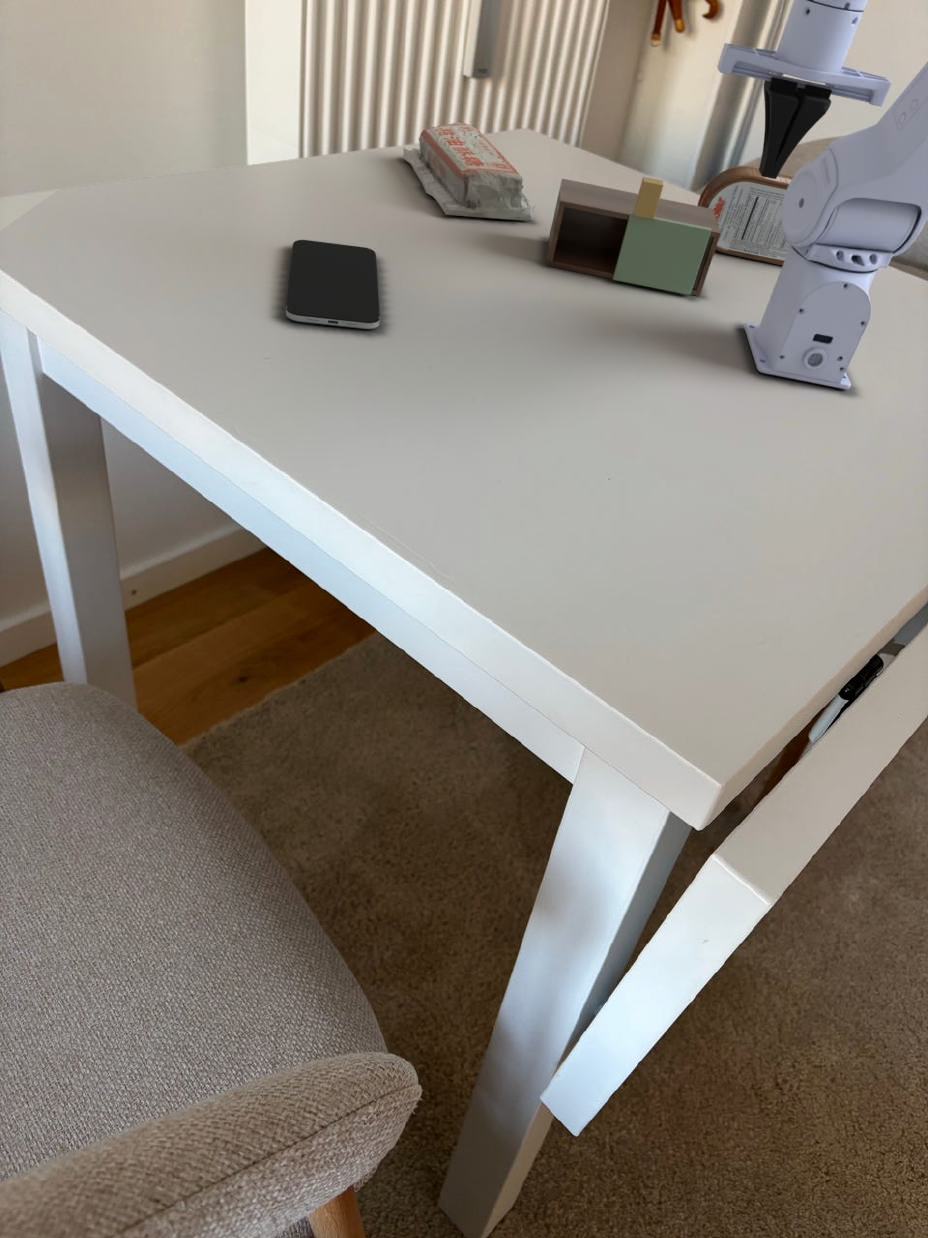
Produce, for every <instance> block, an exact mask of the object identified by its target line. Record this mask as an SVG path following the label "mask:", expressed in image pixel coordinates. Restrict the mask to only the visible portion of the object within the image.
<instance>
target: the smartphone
mask: <svg viewBox="0 0 928 1238" xmlns="http://www.w3.org/2000/svg"><path fill="white" fill-rule="evenodd" d="M291 249H292V250H291V252H290V253H291V257H290V264H289V277H288V285H287V294H286V295H287V296H286V303H285V316H286V317H287V319H289V320H291V321H294V322H298V323H306V324H307V323H308V324H316V325H318V324H319V325H326V326H335V327H344V328H353V329H362V330H373V329H376V328H378V327H379V326H380V323H381V315H380V300H379V284H378V283H379V282H378V280H379V279H378V276H379V275H378V265H377V253H376V251H375V250H373V249H372V248H369V247H364V246H357V245H350V244H343V243H342V244H341V243H333V242H325V241H318V240H316V241H315V240H310V239H298V240H295V241H293V243H292V248H291Z"/></svg>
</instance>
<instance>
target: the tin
mask: <svg viewBox="0 0 928 1238" xmlns="http://www.w3.org/2000/svg"><path fill="white" fill-rule="evenodd" d="M794 176H795V175H791V174H787V173H782V172H779V174H778V176H777V178H776V179H772V178H768V177H763V176H761V174H760V172H759V167H756V166H751V165H738V166H733V167H730V168H728V169H725V170H723V171H721V172H720V173H718V174H716V175H715V176H714V177H713V178H712V179H710V181H709V182H708V183H707V184H706V186H705V187H704V188H703V189H702V191H701V194H700V196H699V199H698V202H697V206H700V207H705V208H710V209H713V211H714V214H715V217H716V220H717V223H718V226H719V230H720V233H721V234H720V237H719V240H718V243H717V246H716V249H715V251H718V252H719V253H723V254H727V255H731V256H736V257H741V258H746V259H749V260H751V259H752V260H754V261H755V260H756V261H760V262H765V263H769V264H775V265H778V266H783V264H784V261H785V258H786V256H787V253H788V251H789V248H790V246H791V245H790V244H789V243H788V242H787V241H786V240H785V234H784V231H783V227H782V221H781V212H782V204H783V200H784V196H785V193H786V190H787V188H788V186H789V184H790V182H791V180H792V179H793V177H794Z"/></svg>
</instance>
